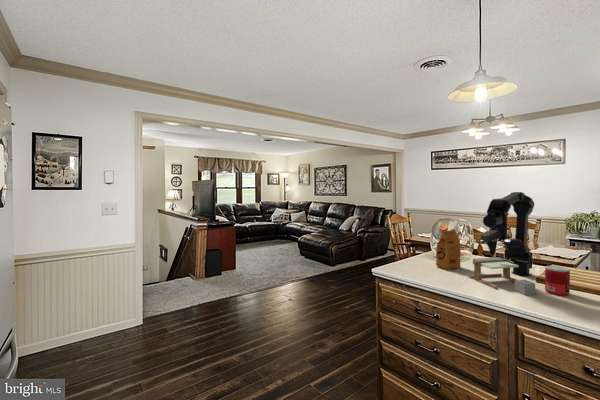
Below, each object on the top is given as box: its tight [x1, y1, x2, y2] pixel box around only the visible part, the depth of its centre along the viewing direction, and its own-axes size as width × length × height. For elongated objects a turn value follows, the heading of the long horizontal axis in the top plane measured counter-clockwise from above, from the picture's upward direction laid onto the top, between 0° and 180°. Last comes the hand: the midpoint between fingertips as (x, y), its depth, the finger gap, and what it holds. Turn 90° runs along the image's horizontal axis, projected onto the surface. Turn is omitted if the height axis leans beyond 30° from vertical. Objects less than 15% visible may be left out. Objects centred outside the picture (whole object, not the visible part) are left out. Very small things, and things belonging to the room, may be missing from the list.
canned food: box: [544, 265, 571, 297], centre depth 125 cm, size 8×8×11 cm
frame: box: [469, 258, 518, 290], centre depth 141 cm, size 17×18×10 cm
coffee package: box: [435, 228, 461, 271], centre depth 169 cm, size 10×12×22 cm
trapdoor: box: [472, 256, 519, 270], centre depth 143 cm, size 12×14×3 cm
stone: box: [514, 279, 536, 296], centre depth 126 cm, size 5×5×5 cm
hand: (500, 257), depth 139 cm, fingers open, 9 cm apart
